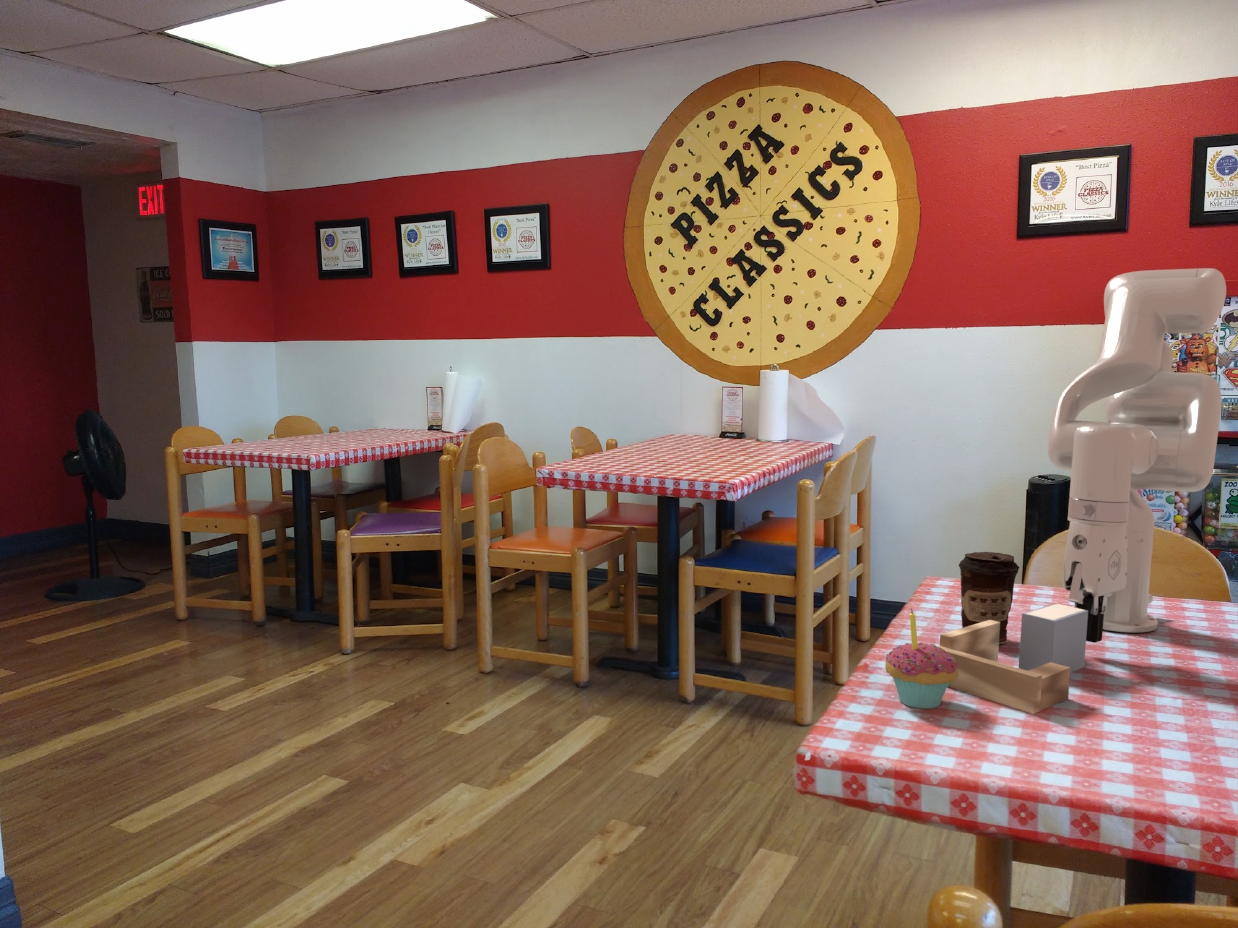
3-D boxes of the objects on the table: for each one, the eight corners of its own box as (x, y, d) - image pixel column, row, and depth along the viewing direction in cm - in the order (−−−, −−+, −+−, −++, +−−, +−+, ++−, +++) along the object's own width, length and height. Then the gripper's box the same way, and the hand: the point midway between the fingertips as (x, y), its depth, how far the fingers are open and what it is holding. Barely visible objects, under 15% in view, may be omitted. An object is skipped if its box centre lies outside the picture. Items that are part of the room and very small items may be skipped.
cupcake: (919, 719, 107) (924, 619, 106) (868, 695, 114) (872, 601, 113) (971, 707, 111) (977, 610, 110) (918, 684, 118) (923, 593, 117)
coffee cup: (1020, 651, 133) (1026, 563, 132) (959, 646, 135) (965, 559, 133) (1007, 633, 142) (1013, 550, 140) (951, 629, 143) (955, 547, 142)
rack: (987, 661, 128) (989, 619, 127) (1087, 690, 117) (1090, 644, 117) (930, 681, 120) (933, 636, 119) (1033, 713, 109) (1036, 664, 108)
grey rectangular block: (1052, 658, 130) (1055, 603, 129) (1084, 667, 127) (1088, 610, 126) (1018, 670, 125) (1022, 613, 124) (1050, 680, 121) (1054, 620, 120)
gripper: (1100, 519, 122) (1089, 654, 123) (1149, 512, 131) (1138, 638, 133) (1045, 511, 128) (1035, 640, 129) (1095, 506, 137) (1085, 626, 139)
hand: (1087, 639), depth 131 cm, fingers closed
